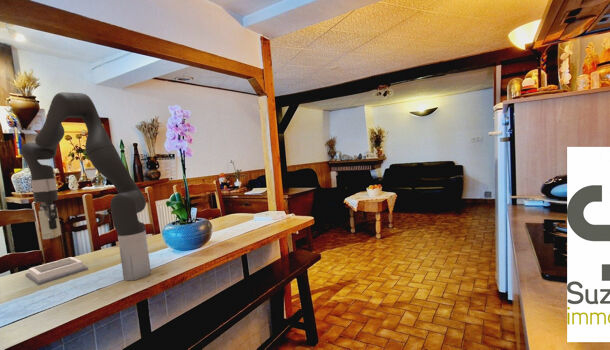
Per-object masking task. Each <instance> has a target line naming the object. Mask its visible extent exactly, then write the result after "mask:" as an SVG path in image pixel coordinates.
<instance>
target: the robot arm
mask: <svg viewBox="0 0 610 350" xmlns="http://www.w3.org/2000/svg"><path fill="white" fill-rule="evenodd" d="M68 118H69V119H77V118H78V119H79V118H80V119H82V120H83V122H84V124H85V126H86V131H87V136H86V140H85V144H84V148H85V149H84V151H85V153H86V156H87V157H88V159H89V160H90V162H91V165H92V166H93V167H94V168H95V170H96V171H98V173H99V174H101V176H104V178H105V179H107V180H108V181H109V182H110V183H111V184H112V185H113V186H114V187H115V189H116V190H117V194H115V195H114V196H113V197H112V198H111V201H110V213H111V219H112V222H113V223H112V224H113V227H114V230H115V231H116V233H117V240H118V247H119V254H120V263H121V269H122V270H121V271H122V277H123V280H124V281H137V280H139V279H142V278H144V277H148V276H149V275H151V274H152V272H151V271H152V270H151V264H150V263H151V262H150V257H149V256H150V255H149V248H148V247H149V246H148V240H147V231H146V225H145V223H144V222H141V221H140V220H139V217H138V213H140V212H143V211H144V209H145V207H146V205H147V201H146V198H145V196H144V194H143V192H142V191H141V190H140V188H139V187H138V185H137V183H136V182H135V180H134V179H133V177H132V176H131V175H130V173H129V171H128V169H127V168H126V166H125V163H124V162H123V160H122V159H121V156H120V154H119V152H118V151H117V149H116V146H115V145H114V144H113V142H112V141H111V138H110V137H109V134H108V132H107V131H106V129H105V127H104V125H103V123H102V120H101V117H100V115H99V113H98V110H97V108H96V106H95V104H94V102H93V100H92V99H91V98H90V96H88V95H87V93H86V94H85V93H82V92H81V93H80V92H67V91H66V92H63V91H62V92H58V93H55V95H54V96H53V98H52V100H51V102H50V104H49V108H48V111H47V114H46V117H45V122H44V124H43V125H42V127H41V129H40V130H39V132H38V133H37V134H36V136H35V138H34V142H26V143H24V144H23V145H22V146H21V148H20V153H21V156H22V157H23V159H24V160H25V162H26V165H27V166H28V168H29V171H30V176H31V188H32V195H33V201H34V203H37V204H38V203H39V204H38V207H39V211H41V210H44V213H45V216H46V217H47V218H48V221H49V228H50V229H56V228H57V224H56V219H57V218H58V217H59V215H58V216H57V211H58V209H57V210H56V208H57V204H56V203H53V201H57V200H59V194H58V187H57V183H56V180H55V173H54V169H53V168H54V167H53V166H51V165H48V164H42V163H40V162H39V161H40V160H41V161H42V160H43V161H45V160H52V159H54V158H55V157H56V156H57V151H58V150H57V149H58V145H59V143H61V141H62V139H64V135H65V129H64V126H63V124H62V123H63V121H65V120H66V119H68ZM38 160H39V161H38ZM46 210H47V211H48V213H47V212H46ZM51 215H53V216H51Z"/></svg>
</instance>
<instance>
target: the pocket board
mask: <svg viewBox="0 0 610 350" xmlns="http://www.w3.org/2000/svg"><path fill="white" fill-rule="evenodd" d="M28 270H29V271H28V272H27V273H25V277H26V278H28V279H29V280H31V281H32V282H33V283H34V284H36V285H37V286H41V285H44V284H46V283H50V282H54V281H56V280H60V279H62V278H65V277H70V276H72V275H75V274H79V273H82V272H84V271H89V267H88V266H86V265H84V263H83V261H82V260H80V259H77V258H75V257H72V256H70V257H67V258H62V259H58V260H56V261H55V260H54V261H50V262H48V263H44V264H41V265H37V266H32V267H30V268H28Z"/></svg>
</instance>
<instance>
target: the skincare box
mask: <svg viewBox="0 0 610 350" xmlns="http://www.w3.org/2000/svg"><path fill="white" fill-rule="evenodd" d="M56 210H57V216H58V218H57V219H56V224H57V228H56V229H50V228H49V221H48V218H47V217H46V216H45V213H44V210H41V211H40V210H38V218H39V224H40V231H41V237H42V240H49V239H54V238H55V239H56V238H57V237H59V236H61V235H62V230H61V226H60V225H61V223H60V219H59V217H60V216H59V213H58V207H56ZM46 212H47V213H48V211H47V210H46ZM51 216H53V215H51Z"/></svg>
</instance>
